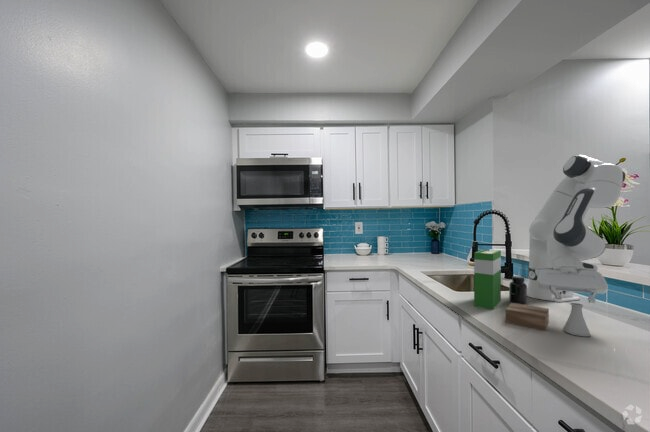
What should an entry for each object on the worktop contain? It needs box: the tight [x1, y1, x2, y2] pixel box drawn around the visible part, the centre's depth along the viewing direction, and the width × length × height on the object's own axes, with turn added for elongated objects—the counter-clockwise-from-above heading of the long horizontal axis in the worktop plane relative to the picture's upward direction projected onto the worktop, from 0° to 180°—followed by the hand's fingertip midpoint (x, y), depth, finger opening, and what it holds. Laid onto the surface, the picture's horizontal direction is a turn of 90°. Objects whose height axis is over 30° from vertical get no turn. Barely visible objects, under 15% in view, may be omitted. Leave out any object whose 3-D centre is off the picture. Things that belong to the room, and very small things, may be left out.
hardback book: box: [473, 249, 502, 311], centre depth 134 cm, size 18×7×24 cm, turn 140°
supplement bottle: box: [508, 275, 528, 305], centre depth 136 cm, size 7×7×12 cm
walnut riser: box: [505, 302, 550, 332], centre depth 110 cm, size 12×12×5 cm
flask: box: [562, 302, 592, 337], centre depth 100 cm, size 7×7×10 cm
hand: (575, 300), depth 105 cm, fingers open, 8 cm apart
